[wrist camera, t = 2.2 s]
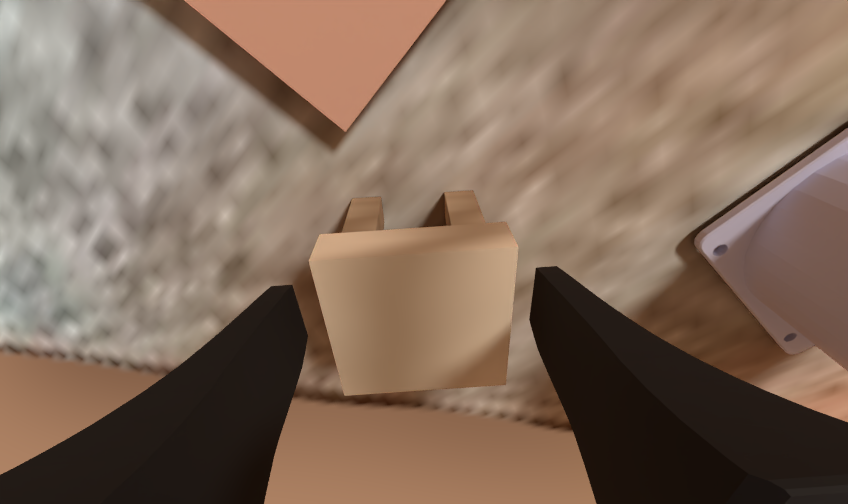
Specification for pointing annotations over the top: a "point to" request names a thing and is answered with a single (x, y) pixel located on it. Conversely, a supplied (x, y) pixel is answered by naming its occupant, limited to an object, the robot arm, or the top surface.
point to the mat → (325, 43)
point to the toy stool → (417, 299)
